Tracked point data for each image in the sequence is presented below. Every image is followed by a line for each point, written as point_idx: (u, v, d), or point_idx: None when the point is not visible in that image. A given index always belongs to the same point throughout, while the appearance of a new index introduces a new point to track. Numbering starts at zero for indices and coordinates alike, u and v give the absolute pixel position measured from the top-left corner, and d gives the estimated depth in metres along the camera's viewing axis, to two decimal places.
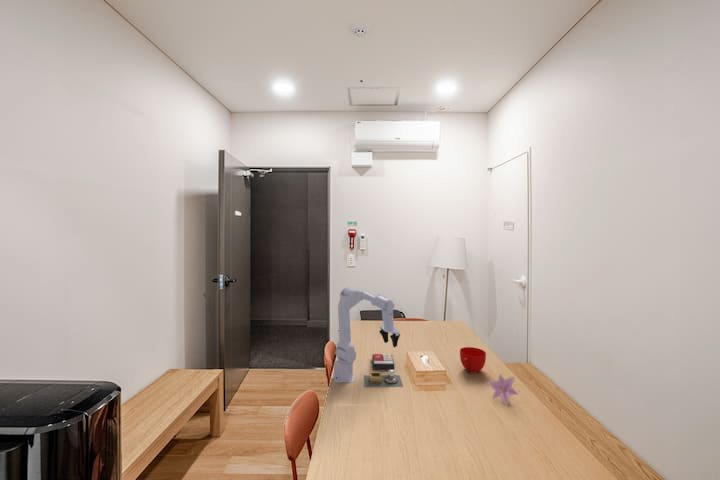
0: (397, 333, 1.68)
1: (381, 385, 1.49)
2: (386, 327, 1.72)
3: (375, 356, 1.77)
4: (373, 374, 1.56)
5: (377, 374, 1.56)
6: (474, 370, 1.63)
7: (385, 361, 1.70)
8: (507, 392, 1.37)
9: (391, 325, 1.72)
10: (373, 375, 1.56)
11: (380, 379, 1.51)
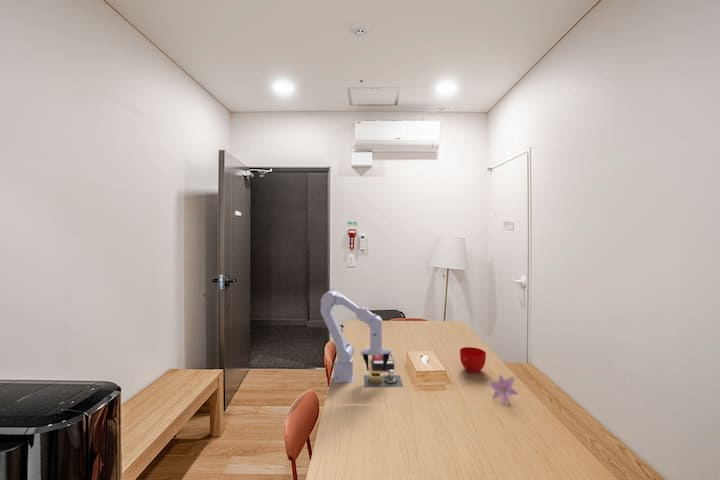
0: None
1: (381, 385, 1.49)
2: None
3: (375, 356, 1.77)
4: (373, 374, 1.56)
5: (377, 374, 1.56)
6: (474, 370, 1.63)
7: None
8: (507, 392, 1.37)
9: (370, 345, 1.54)
10: (373, 375, 1.56)
11: (380, 379, 1.51)
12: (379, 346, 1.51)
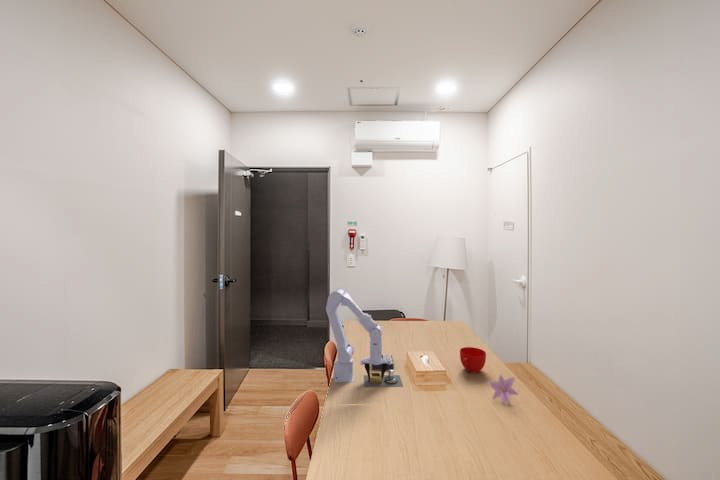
0: None
1: (381, 385, 1.49)
2: None
3: None
4: (373, 374, 1.56)
5: (377, 374, 1.56)
6: (474, 370, 1.63)
7: None
8: (507, 392, 1.37)
9: None
10: (373, 375, 1.56)
11: (380, 379, 1.51)
12: (379, 355, 1.51)
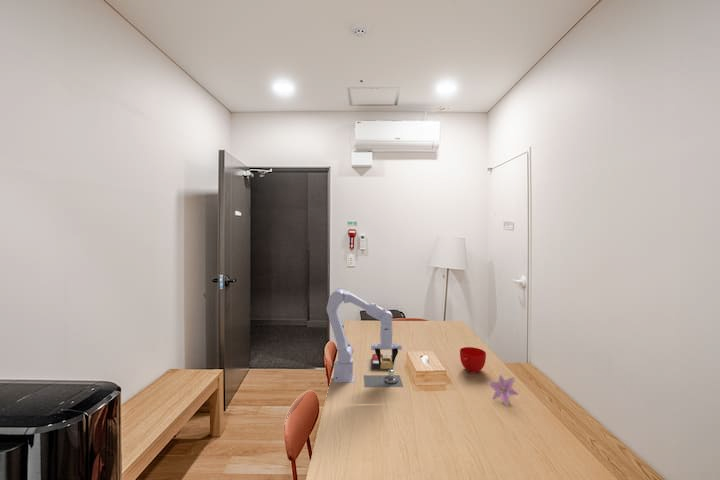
0: (371, 346, 1.54)
1: (381, 385, 1.49)
2: None
3: (375, 356, 1.77)
4: (383, 359, 1.56)
5: (387, 359, 1.56)
6: (474, 370, 1.63)
7: None
8: (507, 392, 1.37)
9: (380, 339, 1.54)
10: (383, 360, 1.56)
11: (391, 364, 1.51)
12: (390, 340, 1.51)
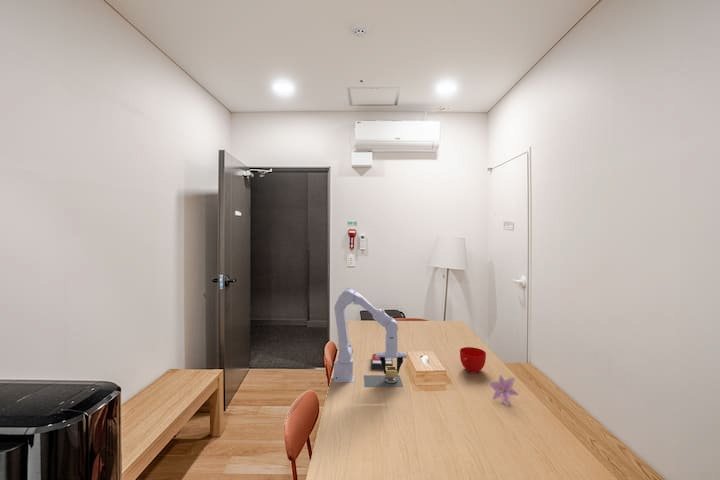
0: (376, 355, 1.54)
1: (381, 385, 1.49)
2: None
3: (375, 356, 1.77)
4: (388, 368, 1.56)
5: (392, 368, 1.56)
6: (474, 370, 1.63)
7: None
8: (507, 393, 1.37)
9: (385, 348, 1.54)
10: (388, 369, 1.56)
11: (396, 373, 1.51)
12: (395, 349, 1.51)
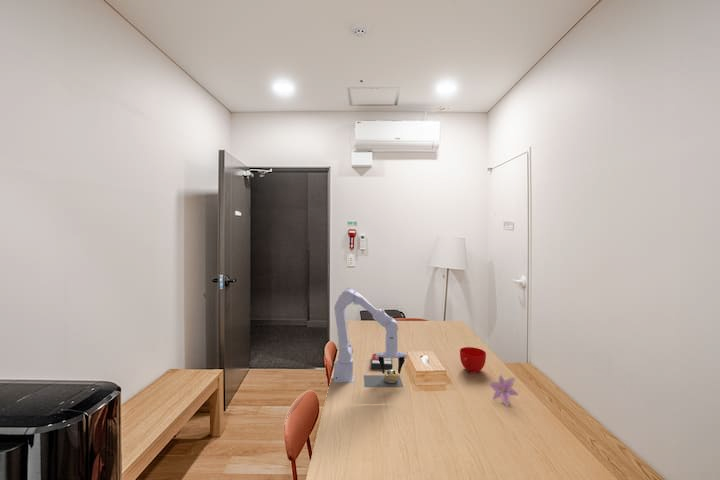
0: (376, 355, 1.54)
1: (381, 385, 1.49)
2: None
3: (375, 356, 1.77)
4: None
5: None
6: (474, 370, 1.63)
7: None
8: (507, 393, 1.37)
9: None
10: None
11: (396, 377, 1.51)
12: (395, 349, 1.51)
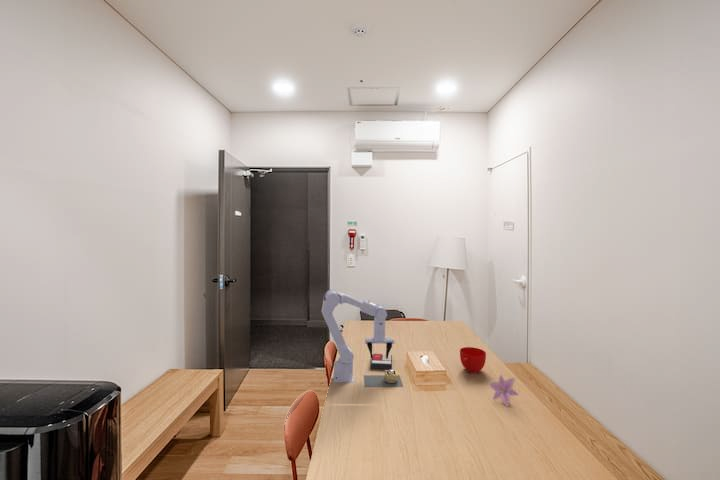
0: None
1: (381, 385, 1.49)
2: None
3: (374, 356, 1.77)
4: None
5: None
6: (474, 370, 1.63)
7: (383, 361, 1.70)
8: (507, 393, 1.37)
9: None
10: None
11: (396, 377, 1.51)
12: (382, 335, 1.57)
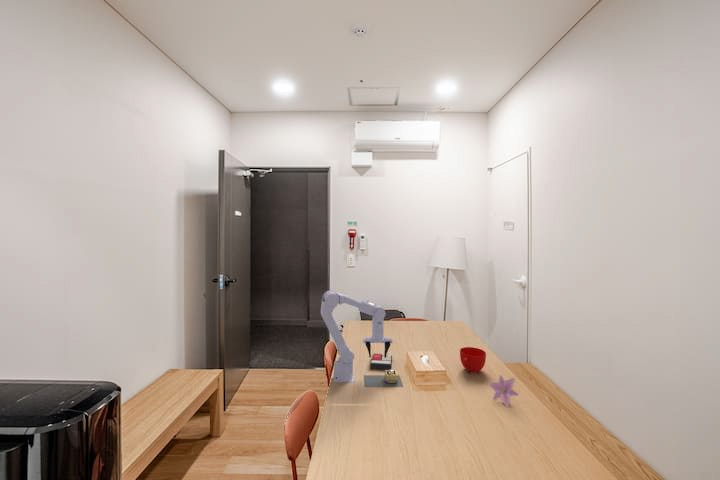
0: (363, 339, 1.60)
1: (381, 385, 1.49)
2: None
3: (374, 356, 1.77)
4: None
5: None
6: (474, 370, 1.63)
7: (383, 361, 1.70)
8: (508, 393, 1.36)
9: (372, 333, 1.60)
10: None
11: (396, 377, 1.51)
12: (381, 334, 1.58)
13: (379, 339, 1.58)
